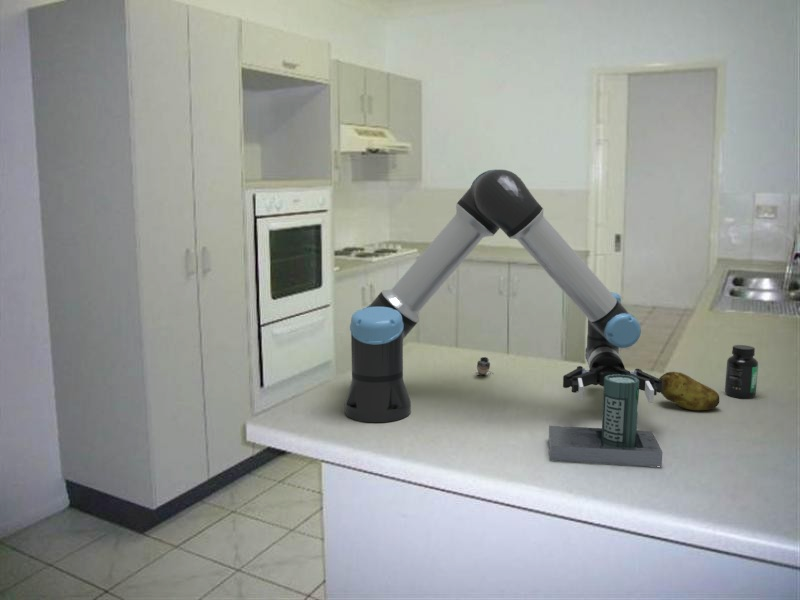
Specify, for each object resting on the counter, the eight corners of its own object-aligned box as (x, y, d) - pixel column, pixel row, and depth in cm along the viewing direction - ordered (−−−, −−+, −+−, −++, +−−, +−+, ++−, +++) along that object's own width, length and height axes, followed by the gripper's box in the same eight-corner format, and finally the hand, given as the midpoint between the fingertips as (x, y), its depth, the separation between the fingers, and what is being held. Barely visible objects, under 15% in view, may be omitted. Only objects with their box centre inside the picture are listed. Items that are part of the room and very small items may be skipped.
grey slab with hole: (550, 460, 132) (550, 445, 131) (548, 439, 143) (549, 425, 142) (661, 467, 128) (662, 452, 128) (651, 445, 139) (652, 431, 139)
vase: (494, 380, 185) (492, 358, 184) (473, 381, 186) (472, 359, 185) (494, 374, 190) (493, 353, 189) (474, 375, 191) (473, 354, 190)
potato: (710, 418, 155) (713, 383, 153) (652, 406, 163) (654, 373, 161) (721, 408, 161) (723, 374, 160) (665, 397, 169) (666, 365, 168)
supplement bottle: (761, 399, 167) (765, 350, 165) (732, 399, 168) (736, 350, 165) (747, 390, 174) (751, 343, 172) (719, 390, 174) (723, 343, 172)
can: (639, 453, 135) (644, 378, 133) (625, 462, 131) (629, 385, 128) (610, 445, 139) (614, 372, 137) (595, 454, 135) (599, 379, 132)
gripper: (662, 385, 159) (680, 416, 138) (550, 380, 164) (552, 409, 143) (664, 353, 158) (683, 379, 137) (551, 349, 162) (553, 374, 142)
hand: (616, 395), depth 140 cm, fingers open, 13 cm apart
